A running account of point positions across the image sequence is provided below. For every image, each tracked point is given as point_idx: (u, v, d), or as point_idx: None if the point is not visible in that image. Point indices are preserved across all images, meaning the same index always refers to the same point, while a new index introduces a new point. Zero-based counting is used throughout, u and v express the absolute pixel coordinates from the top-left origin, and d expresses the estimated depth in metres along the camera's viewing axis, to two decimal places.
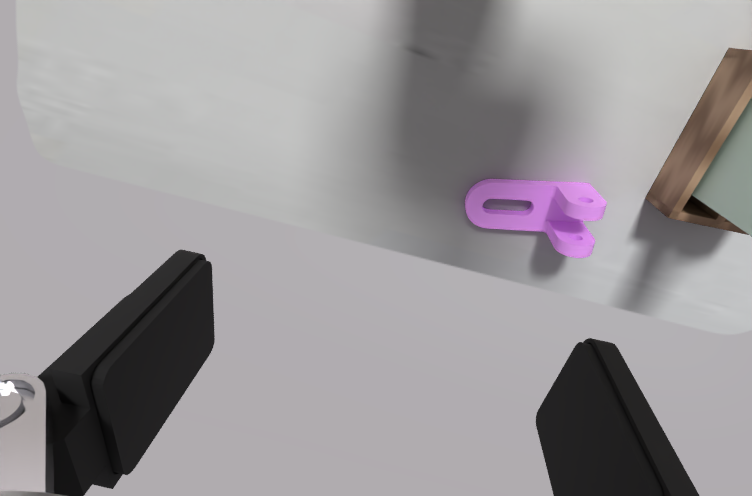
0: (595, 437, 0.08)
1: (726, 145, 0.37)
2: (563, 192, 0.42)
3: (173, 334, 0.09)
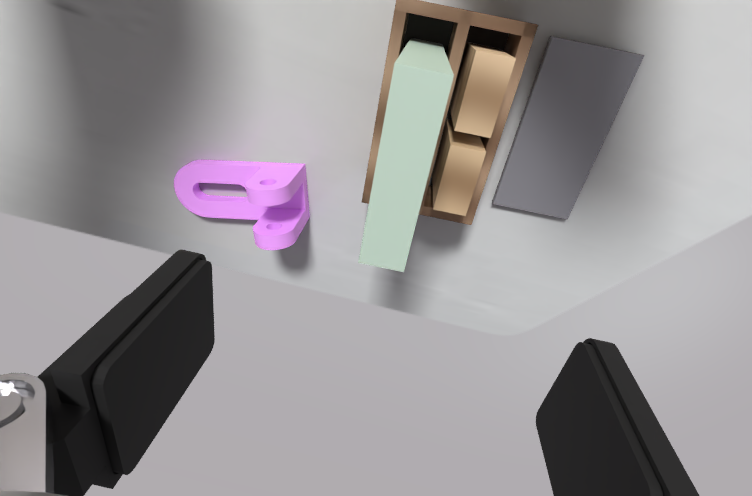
0: (595, 437, 0.08)
1: None
2: (257, 173, 0.36)
3: (173, 334, 0.09)
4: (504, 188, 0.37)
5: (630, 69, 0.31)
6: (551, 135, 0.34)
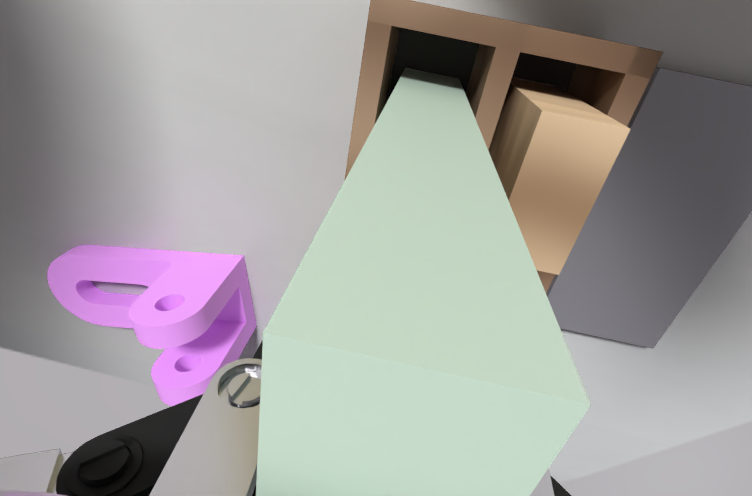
0: None
1: None
2: (159, 280, 0.23)
3: None
4: (554, 302, 0.23)
5: None
6: (641, 228, 0.20)
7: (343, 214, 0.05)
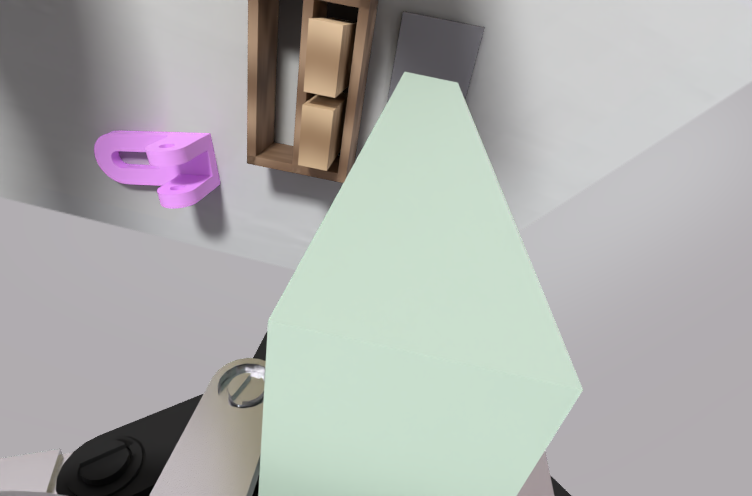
0: None
1: None
2: (161, 140, 0.40)
3: None
4: None
5: (474, 40, 0.35)
6: None
7: (344, 211, 0.05)
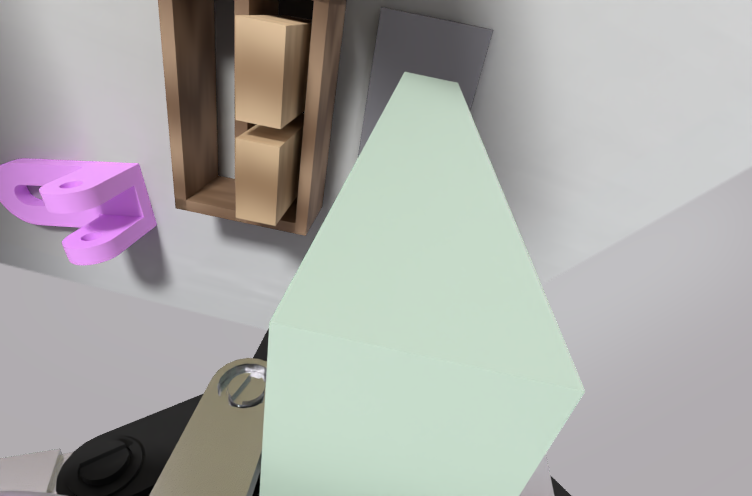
0: None
1: None
2: (69, 174, 0.31)
3: None
4: None
5: (479, 47, 0.26)
6: None
7: (345, 212, 0.05)
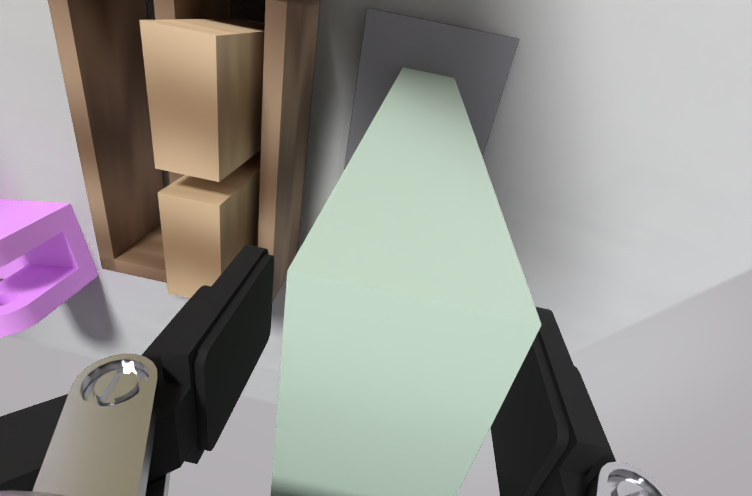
0: (524, 391, 0.09)
1: None
2: None
3: (247, 322, 0.09)
4: None
5: (499, 62, 0.19)
6: None
7: (347, 190, 0.06)
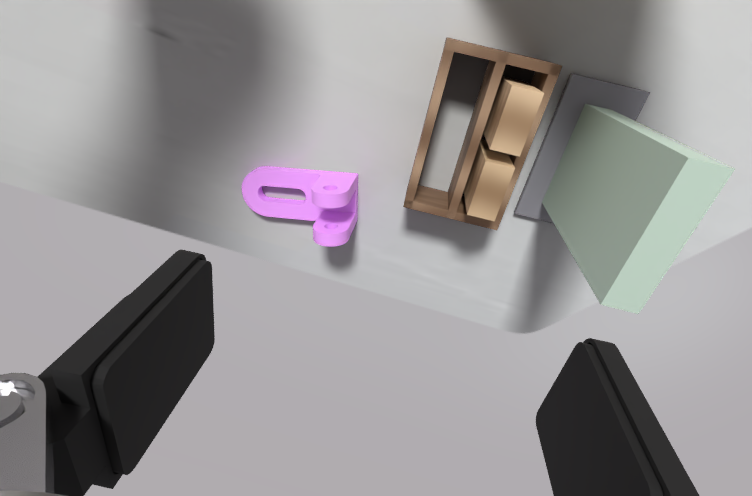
0: (595, 437, 0.08)
1: (576, 170, 0.36)
2: (319, 180, 0.42)
3: (173, 334, 0.09)
4: (525, 200, 0.42)
5: (637, 103, 0.37)
6: None
7: (671, 147, 0.24)
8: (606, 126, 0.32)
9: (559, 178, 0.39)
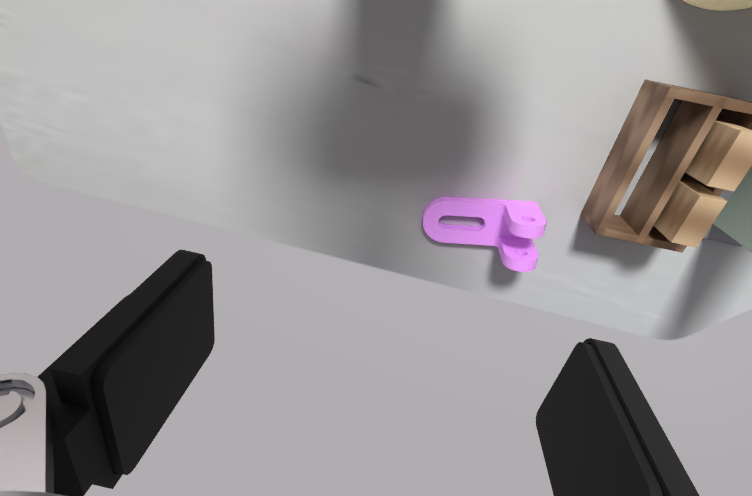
0: (595, 437, 0.08)
1: None
2: (509, 211, 0.46)
3: (173, 334, 0.09)
4: None
5: None
6: None
7: None
8: None
9: (741, 203, 0.43)
